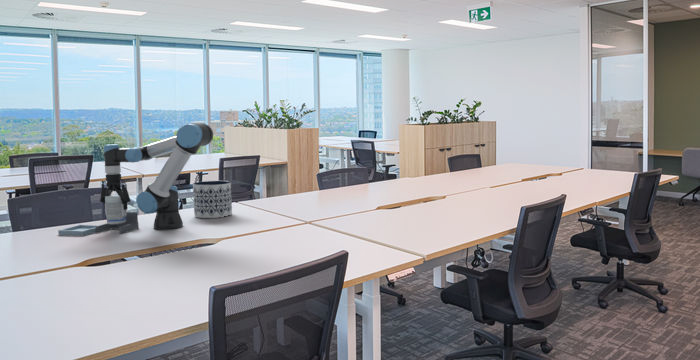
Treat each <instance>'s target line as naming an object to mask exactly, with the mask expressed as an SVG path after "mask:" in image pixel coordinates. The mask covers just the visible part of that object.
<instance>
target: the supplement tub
mask: <svg viewBox="0 0 700 360" xmlns="http://www.w3.org/2000/svg"><path fill="white" fill-rule="evenodd" d="M105 204H106V214H105V216H106V223H108V224H121V223H125V222H126V216H122V206H121V204H122V201H121V198H120V196H119V195H118V194H111V196H106V197H105Z"/></svg>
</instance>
